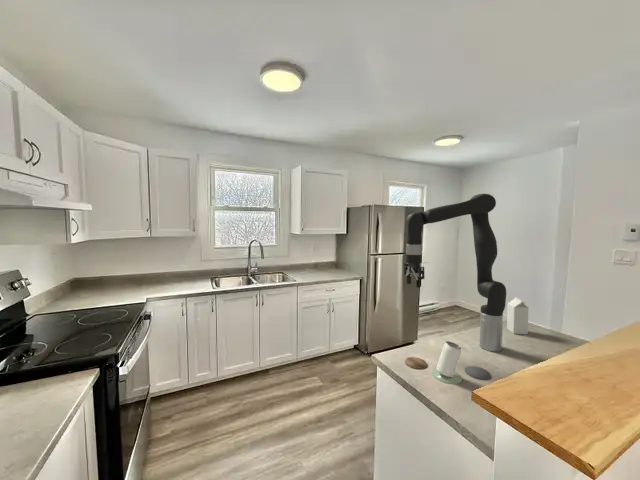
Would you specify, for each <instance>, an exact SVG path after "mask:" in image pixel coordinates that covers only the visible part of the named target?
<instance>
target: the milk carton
mask: <svg viewBox="0 0 640 480" xmlns="http://www.w3.org/2000/svg"><path fill="white" fill-rule="evenodd" d="M513 297H514V299H512V300H511V301H509V302H507V314H506V316H507V317H506V318H507V319H506V330H507V331H509V332H510V333H512V334H514V335H528V331H529V330H528V329H529V327H528V326H529V307H528V306H527V305H526V302H525V301H523V300H522V299H520V298H518V297H515V296H513Z"/></svg>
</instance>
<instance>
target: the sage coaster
mask: <svg viewBox="0 0 640 480" xmlns="http://www.w3.org/2000/svg"><path fill="white" fill-rule="evenodd" d="M431 375H432V377H433V378H434V379H436V380H437V381H439V382H441V383H444V384H448V385H457V384H460V383H461V382H463V381H462V380H463V378H462V375H461V374H460V373H459V372H457V371H455V372H454V375H453V377H446V376H444V375H442V374H441V373H439V372H438V371H437V367H436V368H433V369H432V371H431Z"/></svg>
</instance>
